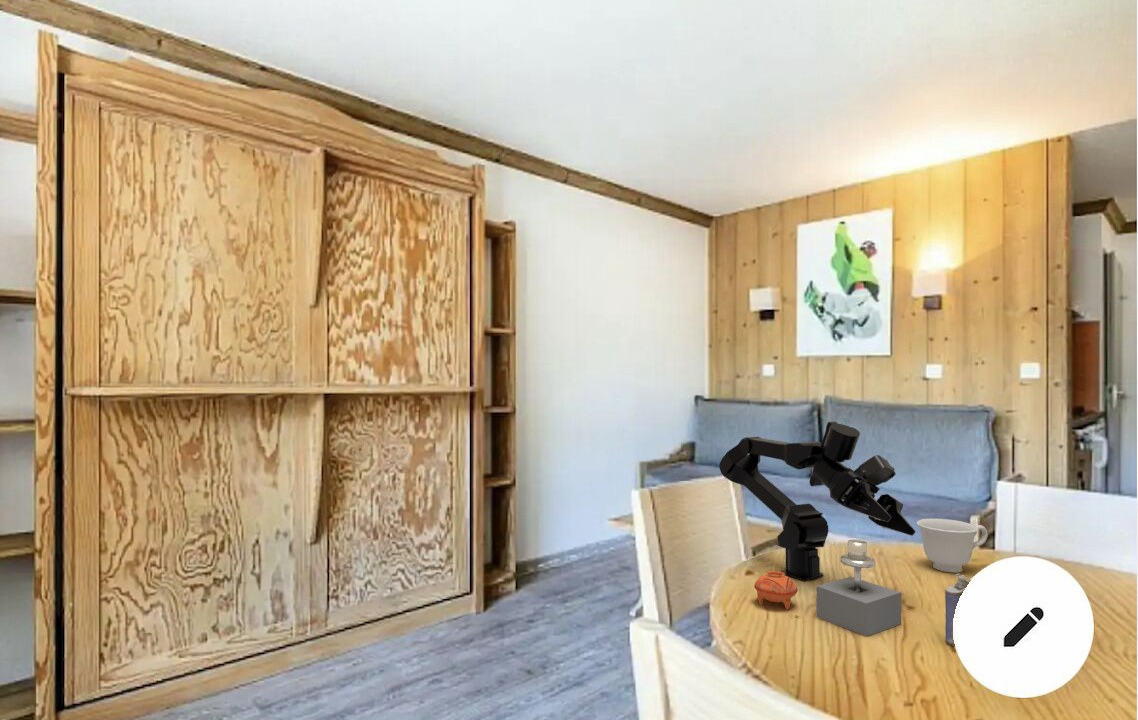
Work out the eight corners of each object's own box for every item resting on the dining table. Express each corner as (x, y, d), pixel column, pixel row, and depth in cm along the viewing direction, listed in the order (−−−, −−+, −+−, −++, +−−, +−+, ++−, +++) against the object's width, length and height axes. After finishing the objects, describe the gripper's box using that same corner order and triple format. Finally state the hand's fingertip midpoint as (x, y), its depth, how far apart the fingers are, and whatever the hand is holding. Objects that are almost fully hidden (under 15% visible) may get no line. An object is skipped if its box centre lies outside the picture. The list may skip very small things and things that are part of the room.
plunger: (829, 596, 114) (828, 540, 114) (852, 590, 117) (852, 535, 117) (863, 609, 108) (862, 549, 108) (887, 601, 111) (886, 543, 111)
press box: (816, 616, 114) (816, 586, 114) (850, 606, 119) (850, 576, 119) (866, 636, 105) (866, 603, 106) (901, 624, 111) (900, 592, 111)
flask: (957, 648, 101) (956, 582, 101) (939, 642, 103) (938, 577, 103) (987, 636, 105) (986, 572, 106) (968, 630, 108) (967, 568, 108)
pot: (763, 612, 116) (759, 573, 117) (751, 606, 123) (748, 570, 125) (806, 610, 116) (801, 572, 117) (792, 605, 123) (787, 569, 125)
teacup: (1005, 577, 135) (1004, 531, 135) (936, 577, 135) (935, 531, 135) (970, 560, 147) (969, 518, 147) (907, 560, 147) (906, 518, 148)
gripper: (840, 432, 122) (905, 475, 108) (887, 463, 131) (952, 507, 118) (805, 477, 123) (865, 525, 110) (854, 505, 133) (915, 552, 119)
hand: (901, 526), depth 114 cm, fingers open, 9 cm apart
